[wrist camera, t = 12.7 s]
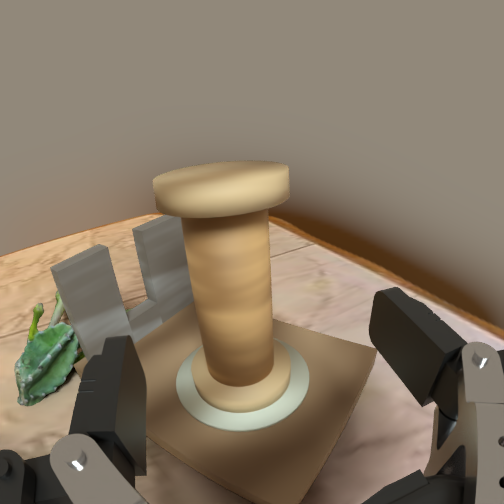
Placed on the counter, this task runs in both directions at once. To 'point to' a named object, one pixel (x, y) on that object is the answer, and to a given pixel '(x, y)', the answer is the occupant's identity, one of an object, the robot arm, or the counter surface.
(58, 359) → the plant
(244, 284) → the bobbin
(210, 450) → the board
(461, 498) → the robot arm
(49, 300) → the counter surface
